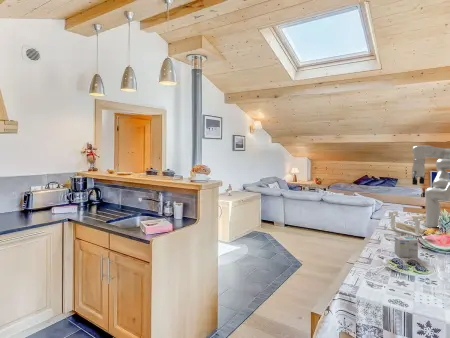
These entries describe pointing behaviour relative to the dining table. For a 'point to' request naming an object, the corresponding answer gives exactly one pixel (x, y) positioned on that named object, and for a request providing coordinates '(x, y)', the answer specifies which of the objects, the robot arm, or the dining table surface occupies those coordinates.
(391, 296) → the dining table surface
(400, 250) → the light bulb box
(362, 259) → the dining table surface
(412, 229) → the rail
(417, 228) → the rack
